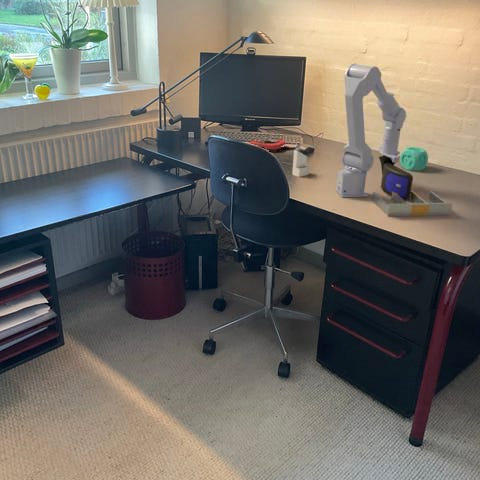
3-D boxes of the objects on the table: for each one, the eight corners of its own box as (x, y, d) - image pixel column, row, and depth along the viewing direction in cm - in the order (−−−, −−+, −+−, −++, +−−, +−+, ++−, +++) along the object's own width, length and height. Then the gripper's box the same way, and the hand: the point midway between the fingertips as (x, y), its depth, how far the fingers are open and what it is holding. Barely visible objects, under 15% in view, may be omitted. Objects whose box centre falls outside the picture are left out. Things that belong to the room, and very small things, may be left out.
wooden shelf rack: (388, 216, 171) (389, 204, 169) (372, 200, 184) (373, 189, 183) (450, 215, 173) (452, 203, 172) (430, 199, 187) (432, 188, 185)
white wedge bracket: (284, 170, 205) (294, 149, 205) (299, 178, 212) (308, 158, 212) (291, 172, 203) (300, 151, 202) (306, 181, 210) (315, 160, 209)
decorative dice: (411, 164, 226) (414, 146, 223) (426, 169, 220) (430, 150, 217) (398, 167, 222) (401, 148, 219) (413, 172, 216) (416, 152, 213)
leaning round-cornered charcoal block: (373, 187, 197) (377, 162, 193) (384, 186, 199) (388, 161, 195) (399, 201, 183) (403, 175, 179) (410, 200, 185) (414, 174, 181)
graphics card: (272, 157, 231) (272, 148, 230) (208, 147, 244) (208, 139, 242) (289, 148, 247) (289, 139, 246) (228, 138, 260) (228, 130, 258)
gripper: (409, 145, 187) (403, 181, 193) (393, 135, 200) (388, 169, 206) (390, 145, 186) (384, 182, 192) (375, 135, 199) (370, 170, 205)
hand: (385, 175), depth 199 cm, fingers closed
